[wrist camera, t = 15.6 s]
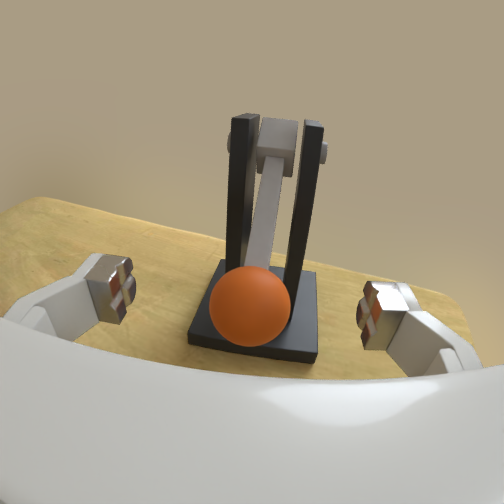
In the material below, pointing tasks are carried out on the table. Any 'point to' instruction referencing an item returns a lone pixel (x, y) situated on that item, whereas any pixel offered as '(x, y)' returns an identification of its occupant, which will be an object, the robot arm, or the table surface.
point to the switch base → (293, 277)
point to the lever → (259, 251)
